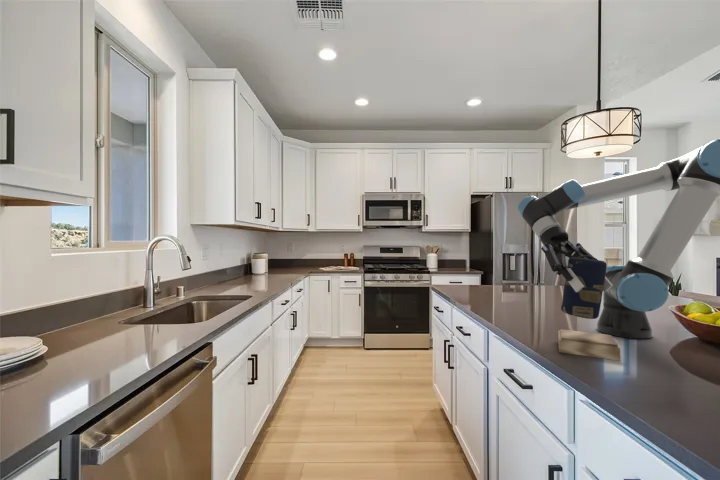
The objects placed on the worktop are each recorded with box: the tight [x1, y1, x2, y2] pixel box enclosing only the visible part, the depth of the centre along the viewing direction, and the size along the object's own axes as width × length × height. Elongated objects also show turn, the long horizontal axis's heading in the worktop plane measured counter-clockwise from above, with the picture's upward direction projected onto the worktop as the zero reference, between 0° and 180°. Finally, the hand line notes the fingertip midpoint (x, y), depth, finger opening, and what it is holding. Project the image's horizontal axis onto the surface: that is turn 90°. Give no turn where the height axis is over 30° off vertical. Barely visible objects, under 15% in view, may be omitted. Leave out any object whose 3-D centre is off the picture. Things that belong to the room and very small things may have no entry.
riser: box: [557, 328, 621, 362], centre depth 100 cm, size 14×12×4 cm
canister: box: [560, 255, 608, 320], centre depth 101 cm, size 10×10×18 cm
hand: (594, 288), depth 98 cm, fingers closed on canister, 10 cm apart
